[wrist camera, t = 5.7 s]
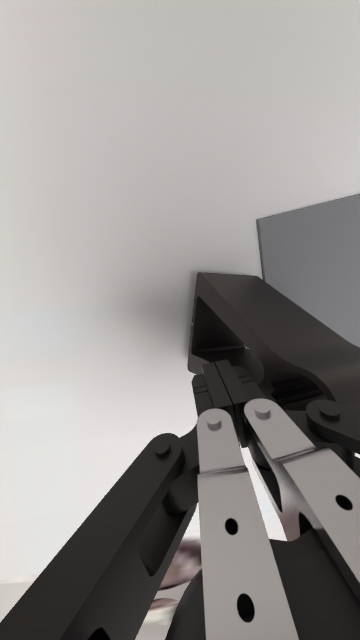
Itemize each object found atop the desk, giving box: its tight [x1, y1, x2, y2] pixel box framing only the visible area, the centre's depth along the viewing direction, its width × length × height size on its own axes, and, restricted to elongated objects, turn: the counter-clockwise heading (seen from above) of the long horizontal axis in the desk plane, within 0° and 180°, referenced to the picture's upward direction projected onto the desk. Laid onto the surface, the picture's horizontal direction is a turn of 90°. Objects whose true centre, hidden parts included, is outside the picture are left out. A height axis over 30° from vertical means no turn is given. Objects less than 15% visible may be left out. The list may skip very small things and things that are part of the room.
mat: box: [257, 194, 360, 347], centre depth 19 cm, size 14×16×1 cm
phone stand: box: [188, 272, 360, 411], centre depth 13 cm, size 9×6×12 cm, turn 175°
